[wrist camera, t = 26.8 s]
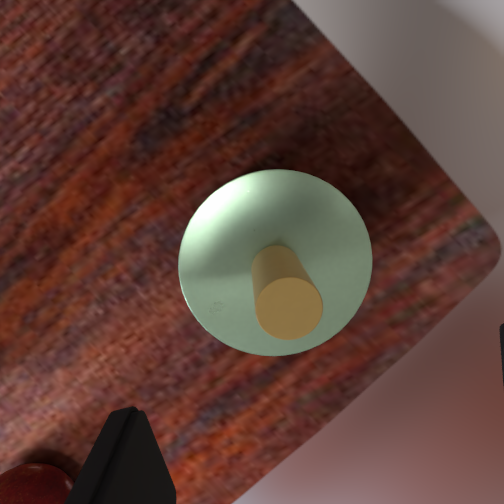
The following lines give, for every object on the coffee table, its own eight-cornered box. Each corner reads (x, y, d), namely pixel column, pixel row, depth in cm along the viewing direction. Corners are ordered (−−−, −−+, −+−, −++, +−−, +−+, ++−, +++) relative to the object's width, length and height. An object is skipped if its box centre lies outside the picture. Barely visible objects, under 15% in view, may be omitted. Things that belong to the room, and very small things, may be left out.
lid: (348, 146, 22) (402, 137, 15) (380, 324, 25) (438, 391, 18) (156, 197, 22) (114, 213, 15) (210, 366, 25) (197, 448, 18)
